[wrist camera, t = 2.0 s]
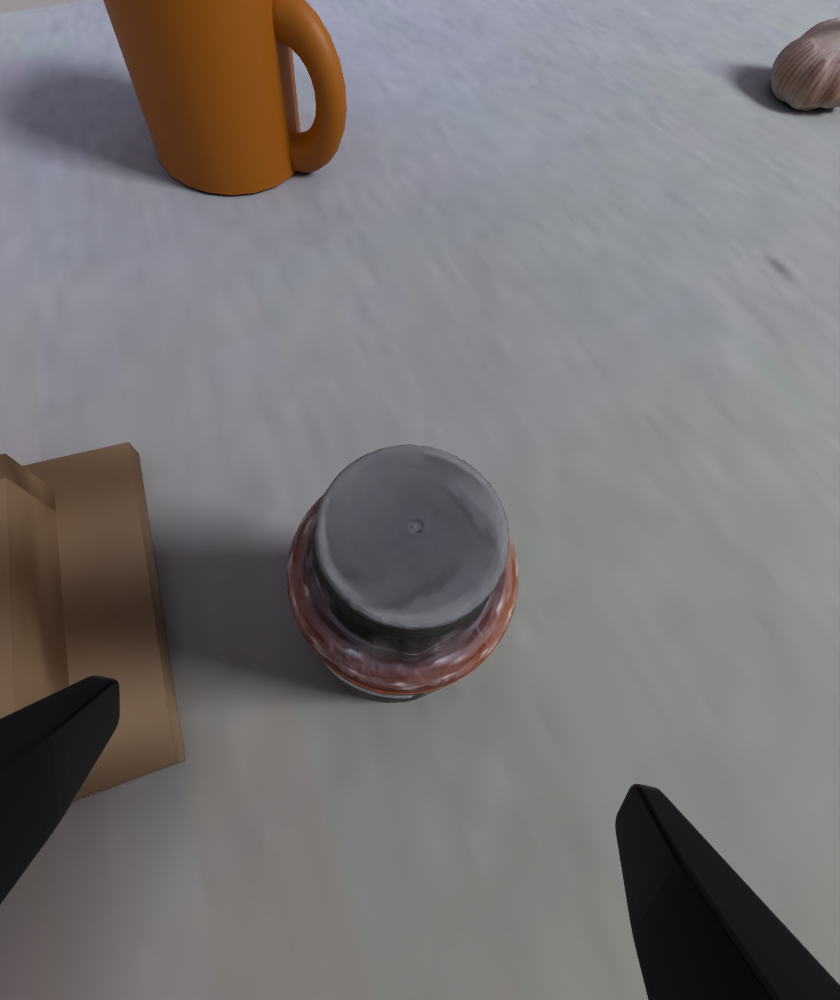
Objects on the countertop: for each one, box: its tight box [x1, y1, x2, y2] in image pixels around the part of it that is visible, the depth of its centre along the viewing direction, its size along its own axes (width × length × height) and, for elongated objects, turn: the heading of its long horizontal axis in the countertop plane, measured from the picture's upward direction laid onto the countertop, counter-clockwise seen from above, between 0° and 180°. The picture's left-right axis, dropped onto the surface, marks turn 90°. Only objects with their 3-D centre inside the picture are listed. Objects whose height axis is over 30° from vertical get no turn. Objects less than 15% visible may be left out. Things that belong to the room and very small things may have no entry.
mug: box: [104, 0, 347, 195], centre depth 27 cm, size 9×12×9 cm
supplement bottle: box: [287, 445, 518, 703], centre depth 15 cm, size 6×6×11 cm
